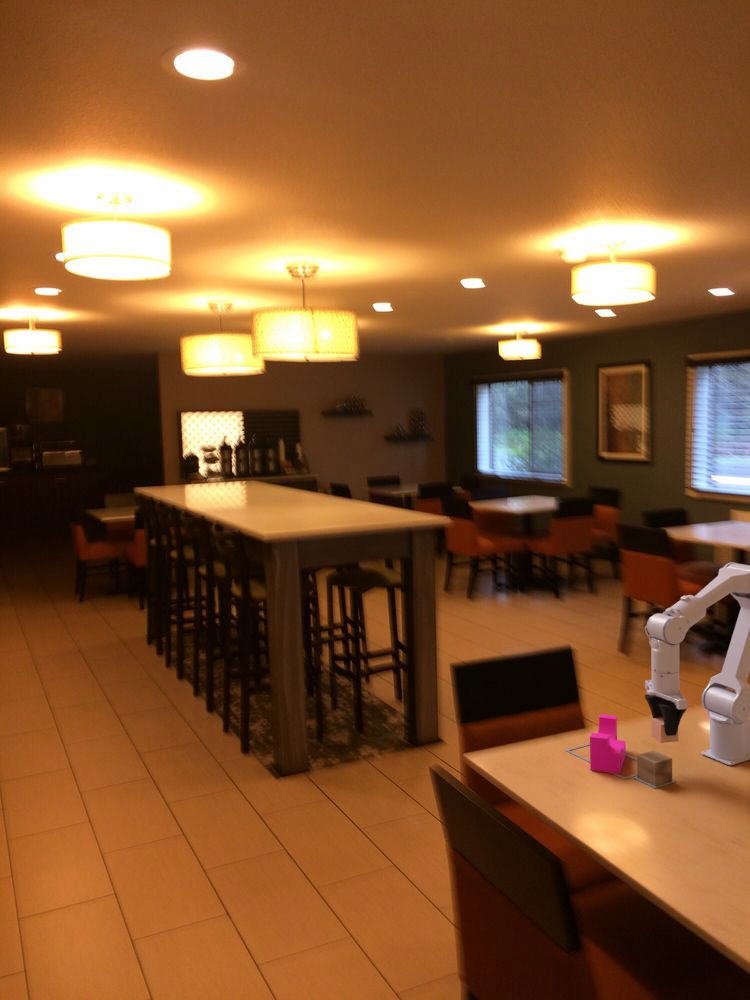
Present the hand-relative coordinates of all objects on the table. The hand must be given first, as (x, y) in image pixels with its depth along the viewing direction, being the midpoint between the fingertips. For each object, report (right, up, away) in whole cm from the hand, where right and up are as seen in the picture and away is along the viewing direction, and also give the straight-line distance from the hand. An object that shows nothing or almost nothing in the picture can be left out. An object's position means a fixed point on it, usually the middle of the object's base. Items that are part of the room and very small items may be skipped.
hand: (665, 731), depth 171 cm
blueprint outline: (-8, -9, +5) cm, 13 cm away
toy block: (-10, -9, +8) cm, 16 cm away
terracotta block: (0, -2, 0) cm, 2 cm away
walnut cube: (-4, -9, -3) cm, 11 cm away
